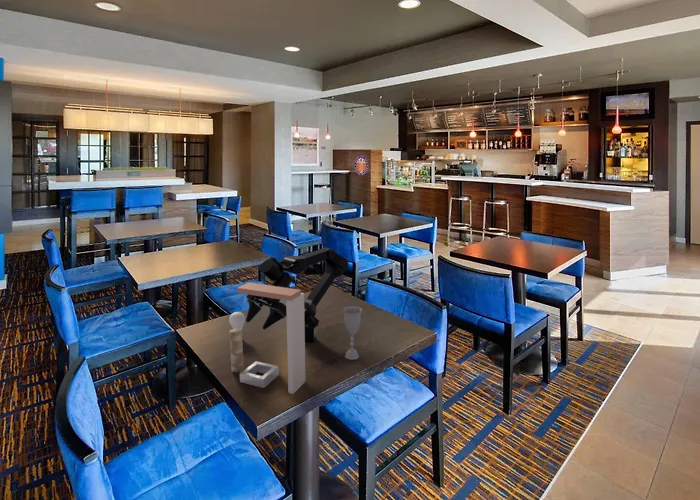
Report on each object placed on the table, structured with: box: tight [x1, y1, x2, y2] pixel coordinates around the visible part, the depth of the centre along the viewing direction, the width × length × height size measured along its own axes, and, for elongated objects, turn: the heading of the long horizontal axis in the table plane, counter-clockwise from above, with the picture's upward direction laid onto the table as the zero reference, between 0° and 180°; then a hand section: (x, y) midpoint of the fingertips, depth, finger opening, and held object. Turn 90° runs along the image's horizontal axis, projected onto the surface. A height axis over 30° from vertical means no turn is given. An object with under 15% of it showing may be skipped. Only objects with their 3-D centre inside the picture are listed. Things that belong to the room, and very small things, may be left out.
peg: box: [229, 328, 245, 374], centre depth 144 cm, size 4×4×14 cm
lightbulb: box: [228, 311, 246, 331], centre depth 169 cm, size 6×6×11 cm
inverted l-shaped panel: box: [237, 282, 306, 395], centre depth 135 cm, size 8×19×32 cm, turn 67°
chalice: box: [342, 305, 363, 360], centre depth 154 cm, size 7×7×18 cm
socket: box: [239, 360, 280, 389], centre depth 140 cm, size 9×9×3 cm
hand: (255, 325), depth 149 cm, fingers open, 9 cm apart
